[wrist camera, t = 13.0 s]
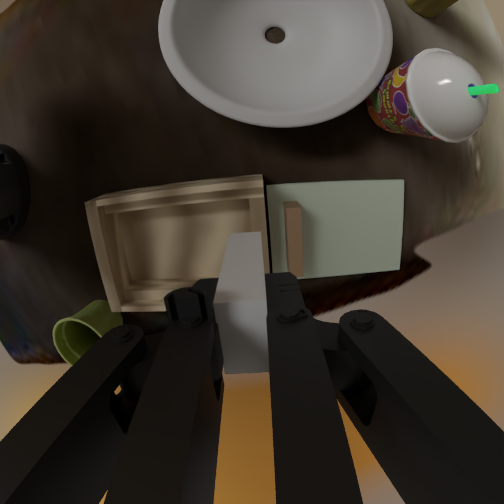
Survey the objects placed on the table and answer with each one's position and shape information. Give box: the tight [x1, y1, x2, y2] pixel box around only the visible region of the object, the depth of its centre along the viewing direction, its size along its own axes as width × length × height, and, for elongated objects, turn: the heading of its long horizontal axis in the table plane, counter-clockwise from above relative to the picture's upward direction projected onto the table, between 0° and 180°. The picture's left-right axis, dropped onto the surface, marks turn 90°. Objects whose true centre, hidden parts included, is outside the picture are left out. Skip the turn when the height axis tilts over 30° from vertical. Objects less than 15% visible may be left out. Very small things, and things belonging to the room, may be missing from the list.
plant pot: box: [53, 300, 123, 366], centre depth 39 cm, size 9×9×9 cm
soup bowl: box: [158, 0, 393, 128], centre depth 26 cm, size 24×24×7 cm
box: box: [85, 174, 270, 312], centre depth 35 cm, size 20×14×6 cm
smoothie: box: [366, 48, 499, 143], centre depth 22 cm, size 8×8×20 cm
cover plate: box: [266, 179, 404, 279], centre depth 36 cm, size 17×12×5 cm
